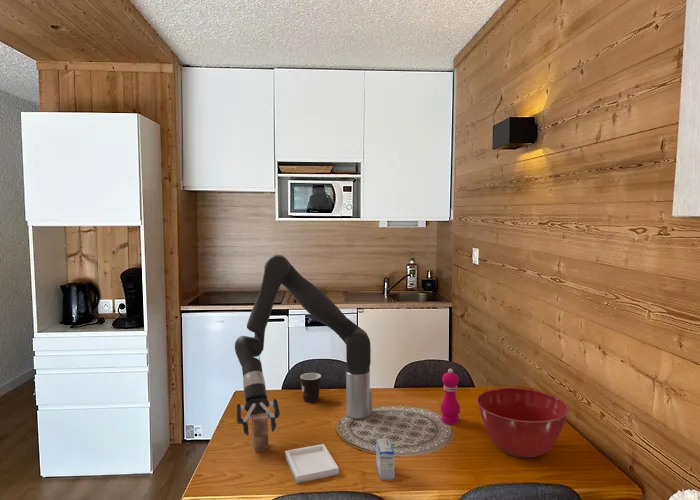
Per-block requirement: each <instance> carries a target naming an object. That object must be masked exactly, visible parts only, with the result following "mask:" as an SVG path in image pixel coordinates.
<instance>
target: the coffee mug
mask: <svg viewBox="0 0 700 500" xmlns="http://www.w3.org/2000/svg"><path fill="white" fill-rule="evenodd" d="M321 377H322V375H321V374H320V373H316V372H307V373H303V374H301V375H300V384H301V391H302V398H303V401H304V402H305V403H316V402H319V399H320V391H321Z"/></svg>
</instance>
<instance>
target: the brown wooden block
mask: <svg viewBox="0 0 700 500" xmlns="http://www.w3.org/2000/svg"><path fill="white" fill-rule="evenodd" d="M268 419H269V418H268V417H267V415H266V413H258V414H252V416H251V422H252V423H251V424H252V425H251V426H252V429H251V430H252V447H253V451H254V452H255V453H256V452H257V453H258V452H264V451H268V450H269V425H268V424H269V421H268Z"/></svg>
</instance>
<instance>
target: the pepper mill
mask: <svg viewBox="0 0 700 500" xmlns="http://www.w3.org/2000/svg"><path fill="white" fill-rule="evenodd" d="M453 371H454V370H453V369H452V368H449V369H448V370H447V372H445V373H443V375H442V378H441V380H442V383H443V391H444V397H443V400H442V402H441V403H440V412H441V421H442V422H443V423H444V424H447V425H456V424H458V423H459V422H460V418H459V417H460V416H459V415H460V414H461V407H460V404H459V401H458V399H457V391H458V384H459V382H460V381H459V380H460V379H459V376H458V375H457V374H456V373H455V372H453Z"/></svg>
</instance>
